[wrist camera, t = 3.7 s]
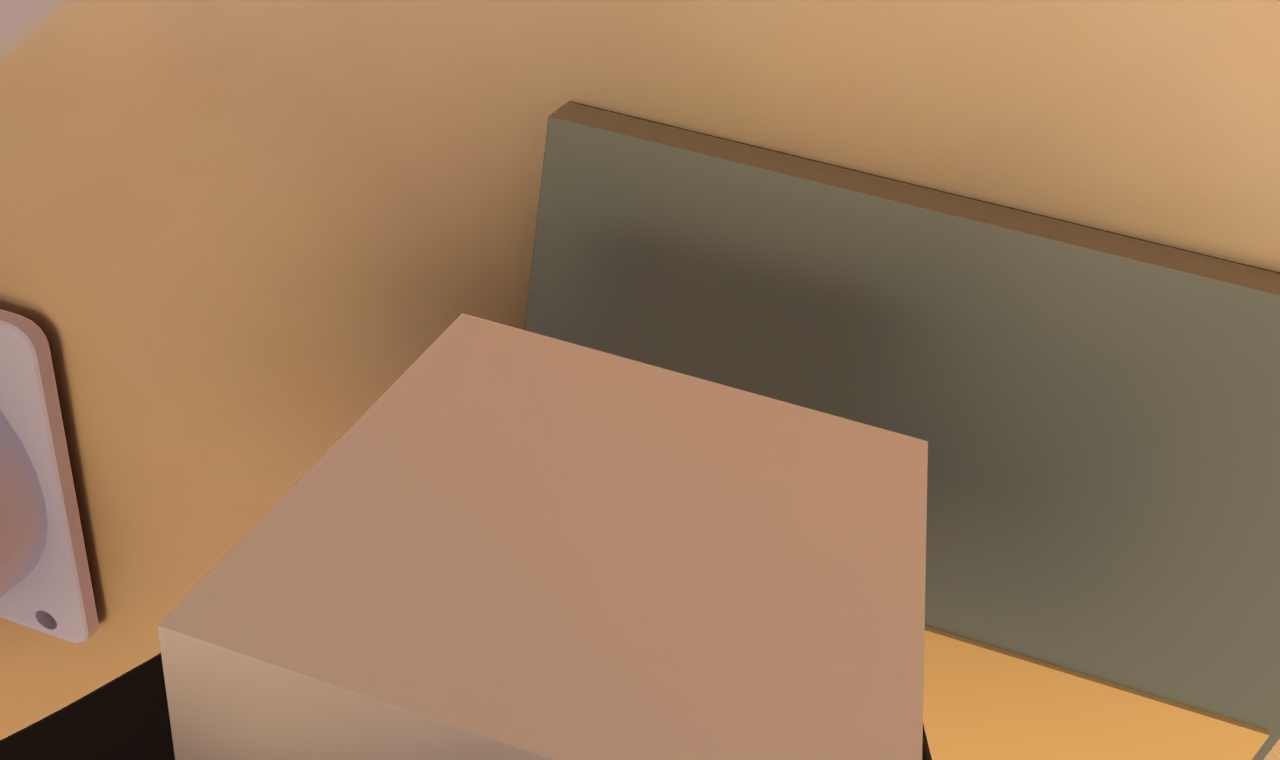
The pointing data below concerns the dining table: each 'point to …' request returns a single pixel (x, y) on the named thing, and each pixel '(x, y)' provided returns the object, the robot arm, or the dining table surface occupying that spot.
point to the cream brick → (568, 577)
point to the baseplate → (975, 417)
